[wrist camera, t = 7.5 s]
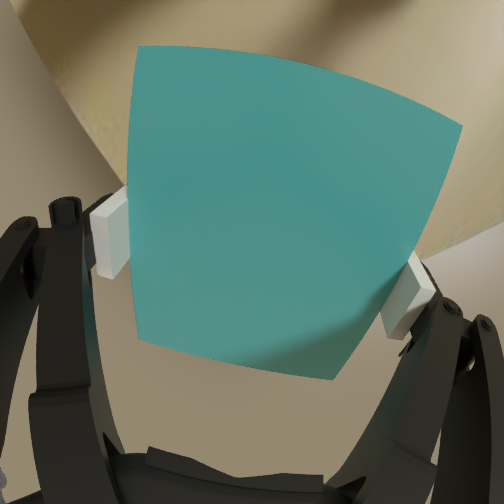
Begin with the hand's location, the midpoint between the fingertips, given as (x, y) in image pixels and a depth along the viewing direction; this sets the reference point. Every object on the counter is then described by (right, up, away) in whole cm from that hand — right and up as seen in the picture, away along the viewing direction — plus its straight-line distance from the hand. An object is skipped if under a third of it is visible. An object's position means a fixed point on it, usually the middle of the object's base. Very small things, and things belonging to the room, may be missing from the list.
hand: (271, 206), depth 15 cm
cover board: (0, -2, -2) cm, 3 cm away
